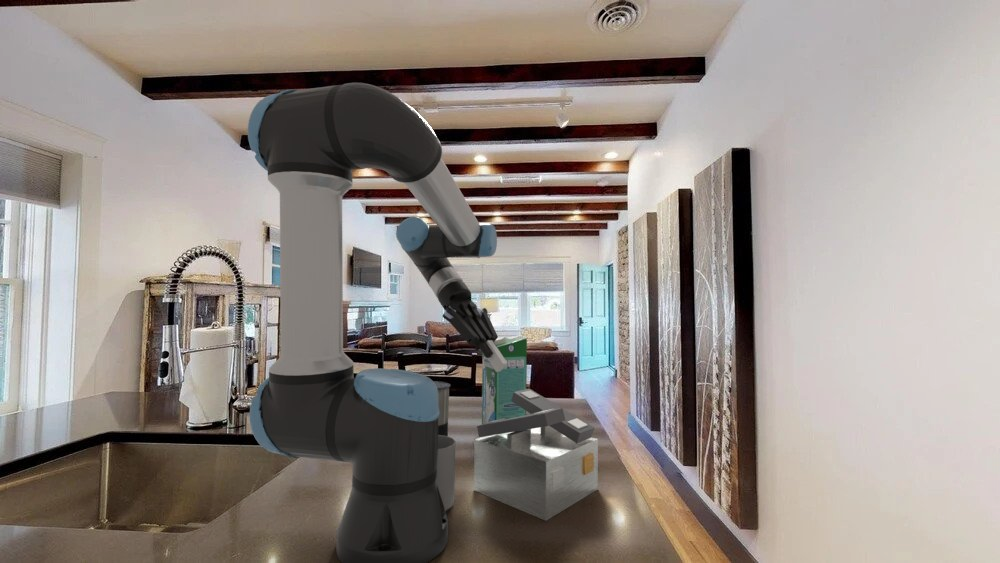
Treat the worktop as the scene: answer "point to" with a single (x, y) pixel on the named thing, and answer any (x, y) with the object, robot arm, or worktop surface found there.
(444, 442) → the cup
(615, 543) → the worktop surface
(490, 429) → the rocker
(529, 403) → the rocker
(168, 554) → the worktop surface
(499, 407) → the milk carton
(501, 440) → the silver metal box
